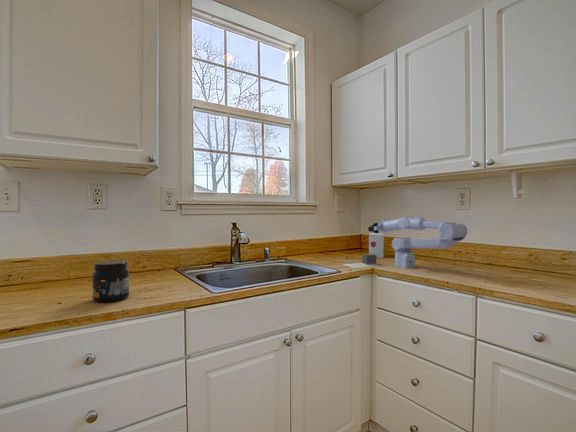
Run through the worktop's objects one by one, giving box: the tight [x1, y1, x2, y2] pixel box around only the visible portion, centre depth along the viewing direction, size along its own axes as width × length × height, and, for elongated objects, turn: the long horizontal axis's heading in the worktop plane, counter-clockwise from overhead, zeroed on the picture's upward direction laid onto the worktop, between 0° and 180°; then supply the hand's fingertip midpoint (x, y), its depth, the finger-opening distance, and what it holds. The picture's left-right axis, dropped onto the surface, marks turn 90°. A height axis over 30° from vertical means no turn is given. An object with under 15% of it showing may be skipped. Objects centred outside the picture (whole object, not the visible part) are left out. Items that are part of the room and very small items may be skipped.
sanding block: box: [361, 253, 377, 265], centre depth 163 cm, size 4×6×5 cm, turn 112°
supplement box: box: [368, 232, 385, 259], centre depth 202 cm, size 9×9×15 cm
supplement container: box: [91, 259, 130, 304], centre depth 102 cm, size 10×10×12 cm
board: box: [341, 262, 381, 269], centre depth 161 cm, size 11×16×1 cm
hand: (373, 228), depth 176 cm, fingers open, 7 cm apart
